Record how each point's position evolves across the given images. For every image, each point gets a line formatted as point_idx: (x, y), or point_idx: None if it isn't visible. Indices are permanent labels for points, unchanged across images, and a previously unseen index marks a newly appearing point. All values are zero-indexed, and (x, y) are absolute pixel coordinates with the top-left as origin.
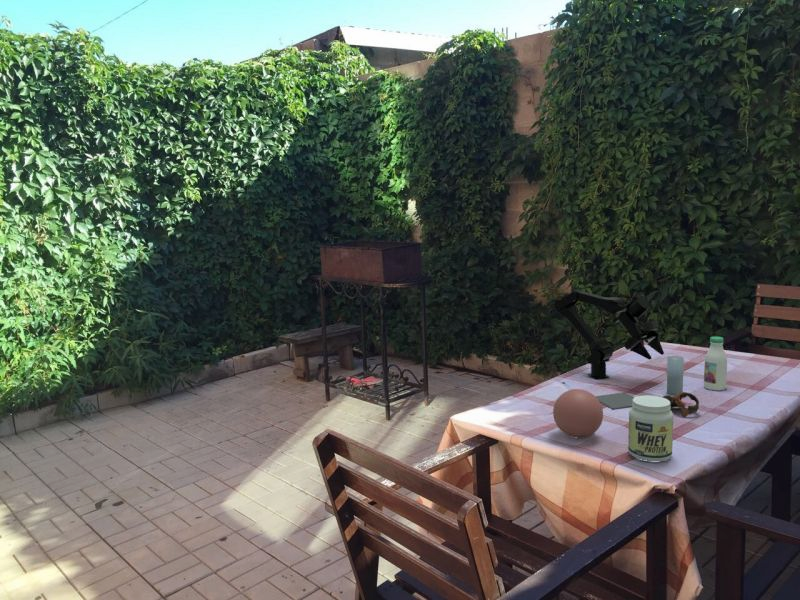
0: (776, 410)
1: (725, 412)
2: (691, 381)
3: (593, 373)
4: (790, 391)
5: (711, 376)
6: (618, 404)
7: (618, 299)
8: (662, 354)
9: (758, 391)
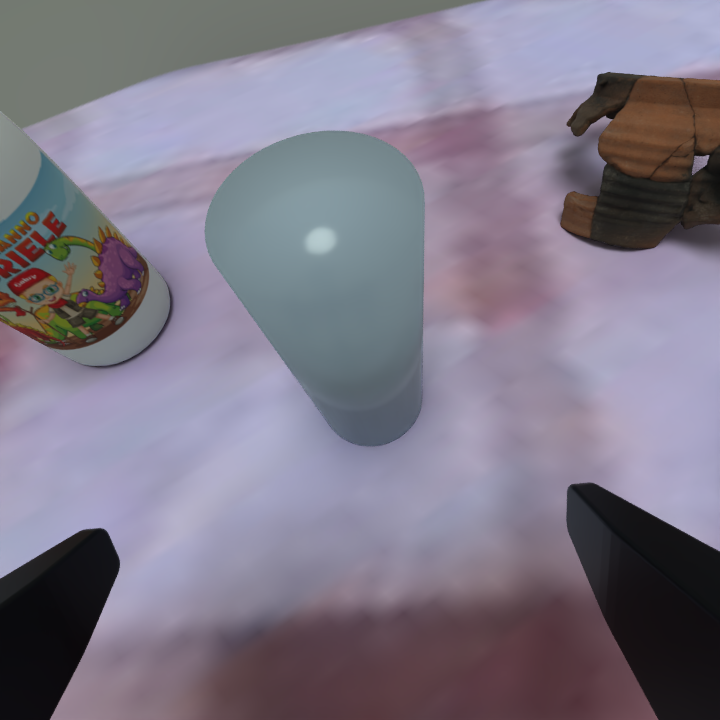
0: (276, 60)
1: (444, 114)
2: (50, 477)
3: None
4: None
5: (120, 251)
6: None
7: None
8: (116, 552)
9: None
